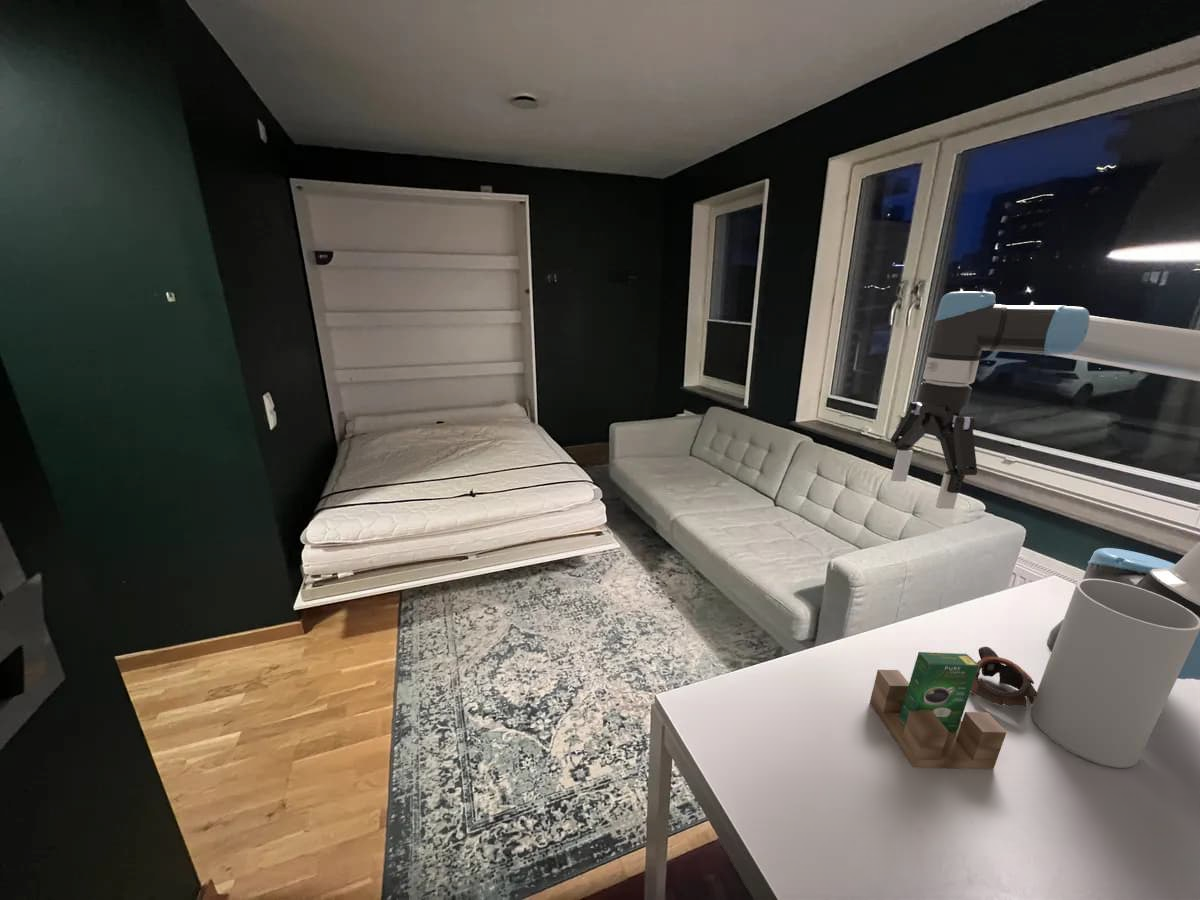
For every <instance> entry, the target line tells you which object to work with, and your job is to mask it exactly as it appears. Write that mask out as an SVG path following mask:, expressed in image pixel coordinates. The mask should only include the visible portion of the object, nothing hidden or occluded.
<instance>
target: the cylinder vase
mask: <svg viewBox="0 0 1200 900" xmlns="http://www.w3.org/2000/svg"><path fill="white" fill-rule="evenodd" d="M1066 609H1067V610H1066V612H1065V616H1064V618H1063V619H1064V620H1063V619H1062V620H1063V623H1062V625H1061V628H1060V631H1059V633H1058V636H1057V639H1056V641H1055V644H1054V647H1053V650H1051V653H1050V654H1049V655H1050V656H1049V657H1048V661H1047V663H1046V666H1045V668H1044V669H1045V670H1044V671H1043V674H1042V676H1041V680H1040V683H1039V685H1038V687H1037V691H1036V692H1037V697H1035V698H1034V701H1033V704H1031V707H1030V713H1031V715H1032V719H1033V721H1034V723H1035V724H1036V725H1037V726H1038V728H1039V730H1041V731H1042V732H1043V733H1044V734H1045V735H1046V736H1047V737H1048V738H1050V739H1051V740H1052V741H1053V742H1055V743H1056V744H1057V745H1058V746H1061V747H1062V748H1063V749H1066V750H1067V751H1069V752H1070V753H1072V754H1074V755H1076V756H1078V757H1080V758H1082V759H1084V760H1086V761H1089V762H1092V763H1095V764H1098V765H1100V766H1105V767H1110V768H1115V769H1116V768H1118V769H1125V768H1130V767H1133V766H1135V765H1136V764H1137V763H1138V762H1139V760H1140V758H1141V755H1142V753H1143V751H1144V750H1145V747H1146V745H1147V743H1148V741H1149V739H1150V736H1151V735H1152V732H1153V730H1154V727H1155V725H1156V724H1157V722H1158V720H1159V717H1160V715H1161V713H1162V711H1163V709H1164V707H1165V705H1166V702H1167V701H1168V699H1169V696H1170V694H1171V692H1172V690H1173V688H1174V686H1175V684H1176V681H1177V679H1178V678H1177V677H1178V675H1179V673H1180V671H1181V669H1182V667H1183V665H1184V663H1185V661H1186V658H1187V656H1188V654H1189V652H1190V650H1191V648H1192V646H1193V644H1194V642H1195V639H1196V637H1197V635H1198V633H1199V631H1200V618H1199V617H1198V616H1197V615H1195V614H1194V613H1193V612H1191V611H1190V610H1189V609H1187V608H1185V607H1184V606H1182V605H1180V604H1178V603H1176V602H1174V601H1172V600H1170V599H1168V598H1165V597H1163V596H1161V595H1158V594H1156V593H1153V592H1150V591H1147V590H1145V589H1141V588H1138V587H1135V586H1132V585H1128V584H1124V583H1120V582H1115V581H1110V580H1103V579H1080V580H1079V581H1077V583H1076V585H1075V588H1074V590H1073V593H1072V596H1071V598H1070V602H1069V603H1068V606H1067V608H1066Z"/></svg>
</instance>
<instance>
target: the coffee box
mask: <svg viewBox="0 0 1200 900" xmlns="http://www.w3.org/2000/svg"><path fill="white" fill-rule="evenodd" d="M978 668H979V665H978V664H977V662H976V661H975V660H974V659H973V658H972V657H971V656H970V655H969V654H967V653H953V652H951V653H948V652H929V651H925V652H924V651H918V653H917V657H916V660H915V663H914V666H913V670H912V672H911V676H910V680H909V686H908V690H907V693H906V696H905V700H904V703H903V706H902V709H901V713H900V717H899V718H900V720H901V721H902V722H903V724H904V725H906V721H907V718H908V714H909V711H932V712H933V713H934V714H935V715H936V717H937V718H938V719H939V720H940V721H941V723H942V724H943V725H944V726H945V728H946V729H947V730H948V732H949V731H951V732H957V730H958V727H959V725H960V721H962V719H963V716H964V713H965V712H964V711H965V708H966V705H967V703H968V700H969V697H970V694H971V689H972V686H973V683H974V680H975V677H976V674H977V671H978Z"/></svg>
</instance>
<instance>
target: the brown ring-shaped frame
mask: <svg viewBox="0 0 1200 900" xmlns="http://www.w3.org/2000/svg"><path fill="white" fill-rule="evenodd" d="M978 655H979V658H980V660H978V661H977V662H976V663H977V664H978V665H979V668H978V671H977V674H976V677H975V680H974V683H973V686H972V689H971V692H970V694H972V695H973V696H975V695H976V696H977V697H980V698H981V699H982V700H983V699H984V700H986V701H987V702H990V703H992V704H996V705H998V706H1003V705H1004V706H1006V707H1017V706H1019V707H1023V708H1025V709H1028V702H1027V701H1029V704H1030V705H1032V704H1033V701H1034V698H1035V697H1037V691H1036V689H1035V687H1034V686H1033V685H1034V684H1035V681H1034V680H1033V678H1032V677H1031V676H1030V675H1029V674H1028V673H1027V672H1026V671H1025V670H1024V669H1022V668H1021V667H1020V666H1019V665H1018V664H1016V663H1014V662H1013V661H1012V660H1009V659H1007V658H1003V657H999V656H998V654H997V653H996V652H995V651H994V650H993V649H992V648H991V647H989V646H981V647H979V648H978ZM980 673H981V674H980ZM997 674H998V675H999V676H998V677H999V680H998V681H999V684H1003V685H1006V686H1010V687H1013V688H1014V689H1016V690H1015V691H1008V692H1007V691H1001V690H997V689H994V688H993V687H991V686H989V685H988V684H987V683H985V681H984V680H983V679H982V678H980V679H979V676H980V675H982V676H984V677H991V678H992V677H994V676H996V675H997Z"/></svg>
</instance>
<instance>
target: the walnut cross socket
mask: <svg viewBox="0 0 1200 900" xmlns="http://www.w3.org/2000/svg"><path fill="white" fill-rule="evenodd" d="M909 683H910V681H908V680H907V679H906V677H905V676H904V674H902V673H901V671H900V670H898V669H877V671H876V675H875V680H874V685H873V687H872V692H871V696H870V699H869V704H870V705H871V708H873V709H874V711H875V713H876V715H877V716H878V717H879V719H880V720H881V722H882V723H883V725H884V726H885V727H886V729H887V731H888V732H889V733H890V735H891V736H892V738H893V739H894V740H895V742H896V743H897V745H898V746H899V748H900V749H901V751H902V752H903V754H904V756H905V758H907V760H908V761H909V763H910V765H911V766H912V767H913V768H917V769H918V768H921V769H971V770H972V769H975V770H977V769H979V770H982V769H984V770H994V769H995V767H996V763H997V760H998V757H999V755H1000V753H1001V749H1002V747H1003V745H1004V744H1003V743H1004V741H1005V738H1006V736H1007V731H1006V730H1005V729H1004V728H1003V727H1002V726H1001V725H1000V723H998V722H997V720H995V718H993V716H992V715H991V714H990V713H989V712H987V711H986V712H982V711H980V712H979V711H977V712H974V711H965V712H963V715H962V719H961V721H960V725H959V727H958V730H957V732H951V731H949V732H948V730H947V729H946V728H945V726H944V725H943V724H942V723H941V721H940V720H939V719H938V718H937V717H936V715H935V714H934V713H933V712H932V711H909V714H908V718H907V721H906V725H904V724H903V722H902V721H901V720H900V718H899V717H900V713H901V709H902V706H903V703H904V700H905V696H906V693H907V690H908V686H909Z"/></svg>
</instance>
